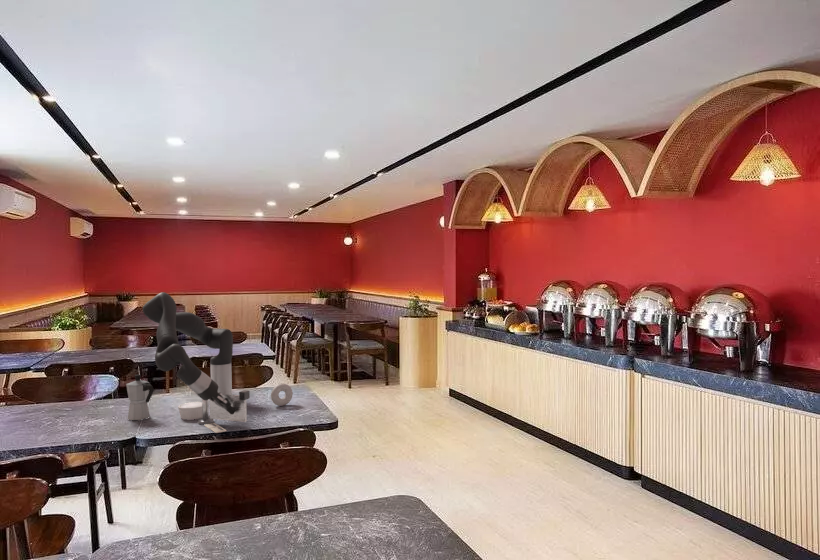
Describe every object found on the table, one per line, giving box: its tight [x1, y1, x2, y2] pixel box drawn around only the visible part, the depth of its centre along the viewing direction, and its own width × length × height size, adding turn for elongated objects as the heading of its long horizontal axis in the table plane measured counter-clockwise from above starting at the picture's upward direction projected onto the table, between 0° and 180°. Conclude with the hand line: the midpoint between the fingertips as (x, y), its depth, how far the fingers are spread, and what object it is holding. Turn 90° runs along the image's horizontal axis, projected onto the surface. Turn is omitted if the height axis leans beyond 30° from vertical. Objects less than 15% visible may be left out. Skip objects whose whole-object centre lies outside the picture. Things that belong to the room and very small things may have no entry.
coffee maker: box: [125, 374, 155, 421], centre depth 240 cm, size 15×9×18 cm, turn 65°
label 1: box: [203, 422, 221, 430], centre depth 227 cm, size 6×4×1 cm, turn 38°
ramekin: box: [177, 401, 202, 421], centre depth 242 cm, size 11×11×5 cm
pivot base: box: [197, 417, 215, 426], centre depth 233 cm, size 6×6×1 cm
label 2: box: [209, 426, 227, 434], centre depth 222 cm, size 6×4×1 cm, turn 38°
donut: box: [270, 383, 294, 407], centre depth 259 cm, size 10×4×10 cm, turn 125°
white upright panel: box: [201, 389, 251, 423], centre depth 230 cm, size 21×3×13 cm, turn 70°
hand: (233, 412), depth 226 cm, fingers closed
